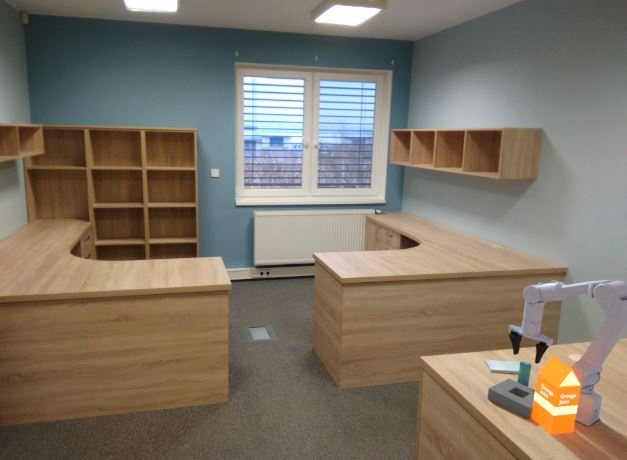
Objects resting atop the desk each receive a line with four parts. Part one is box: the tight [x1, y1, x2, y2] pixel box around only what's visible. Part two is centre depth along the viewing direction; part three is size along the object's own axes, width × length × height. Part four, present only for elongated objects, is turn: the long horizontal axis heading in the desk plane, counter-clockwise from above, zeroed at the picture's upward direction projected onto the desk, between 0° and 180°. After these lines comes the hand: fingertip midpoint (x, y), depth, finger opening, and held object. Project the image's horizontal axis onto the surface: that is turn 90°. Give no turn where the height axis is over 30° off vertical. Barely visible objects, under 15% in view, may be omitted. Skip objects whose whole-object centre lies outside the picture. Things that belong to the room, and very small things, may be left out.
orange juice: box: [530, 355, 581, 436], centre depth 147 cm, size 8×9×20 cm
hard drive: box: [483, 359, 520, 375], centre depth 185 cm, size 2×8×12 cm
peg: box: [516, 361, 532, 387], centre depth 171 cm, size 4×4×8 cm
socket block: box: [487, 378, 535, 420], centre depth 160 cm, size 14×12×4 cm
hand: (526, 358), depth 170 cm, fingers open, 7 cm apart
